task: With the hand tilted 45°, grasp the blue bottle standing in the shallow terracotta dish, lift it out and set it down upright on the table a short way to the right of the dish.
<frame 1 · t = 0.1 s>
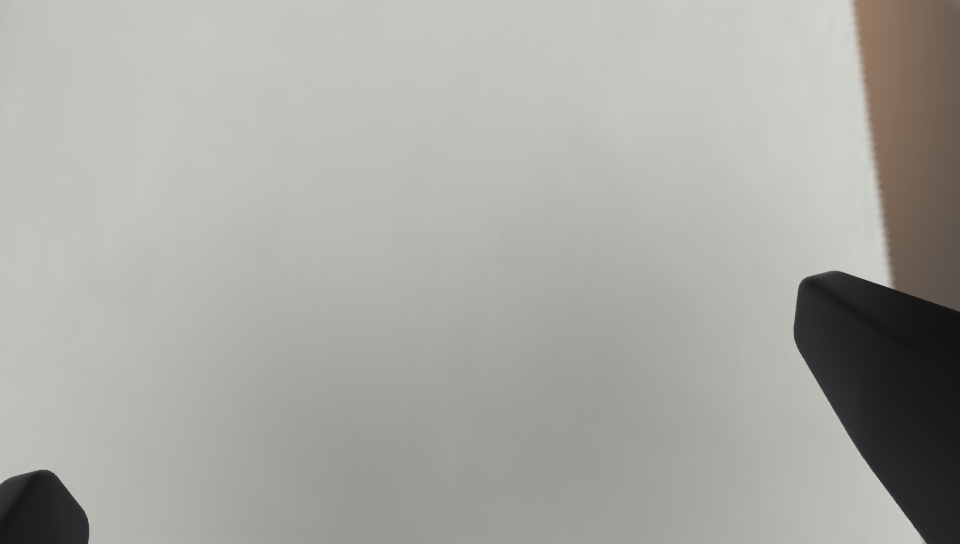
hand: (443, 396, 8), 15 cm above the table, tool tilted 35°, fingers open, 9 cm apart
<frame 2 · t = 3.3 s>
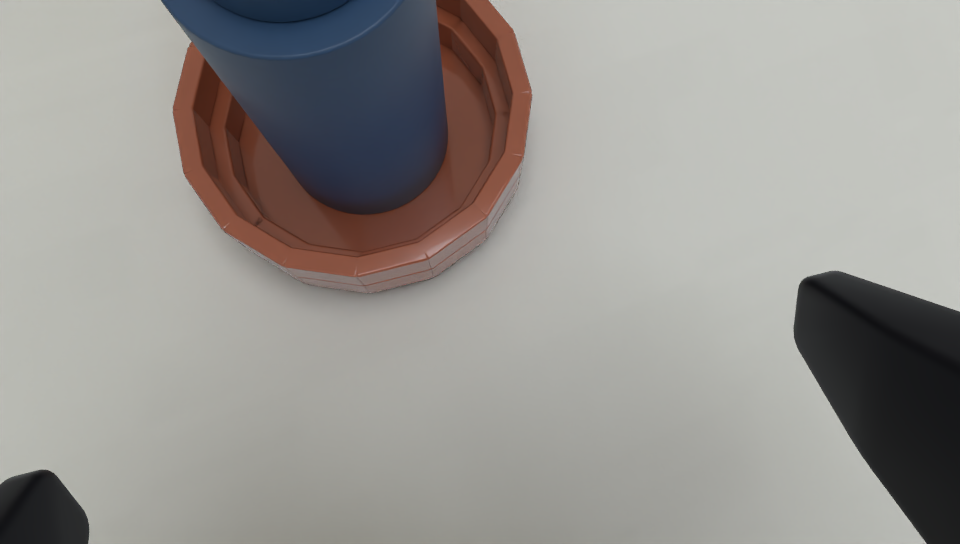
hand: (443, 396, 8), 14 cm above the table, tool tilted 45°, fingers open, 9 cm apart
blue bottle: (366, 137, 23), resting on dish
dish: (369, 142, 23), on the table
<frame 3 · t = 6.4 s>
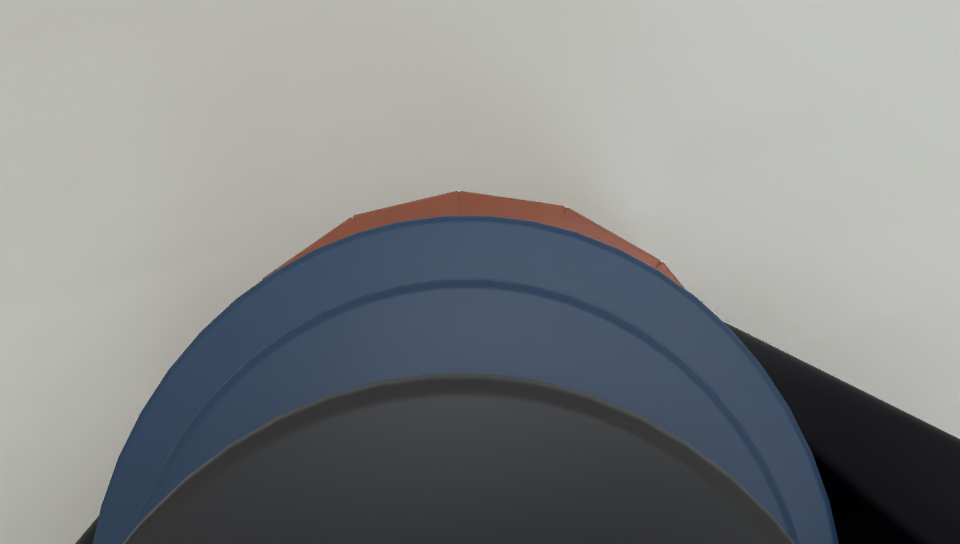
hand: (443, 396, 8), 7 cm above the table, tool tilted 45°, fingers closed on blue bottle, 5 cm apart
blue bottle: (471, 467, 15), point 1 cm above the table, touching dish, gripper
dish: (472, 465, 15), on the table
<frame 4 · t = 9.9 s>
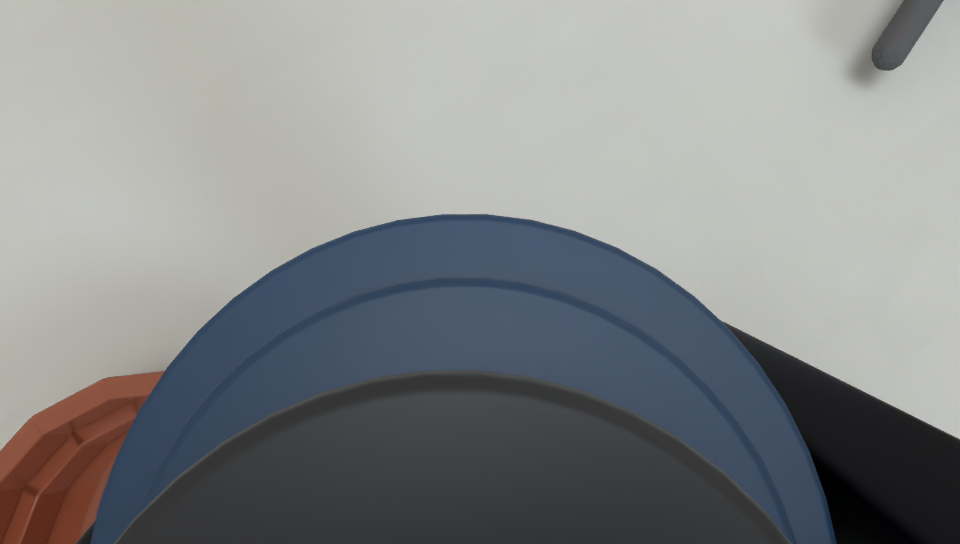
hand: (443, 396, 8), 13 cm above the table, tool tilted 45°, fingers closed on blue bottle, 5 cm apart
blue bottle: (470, 466, 15), point 6 cm above the table, touching gripper
when the fingers open (7 cm above the table, at t = 13.7 s): blue bottle stays where it is, on the table.
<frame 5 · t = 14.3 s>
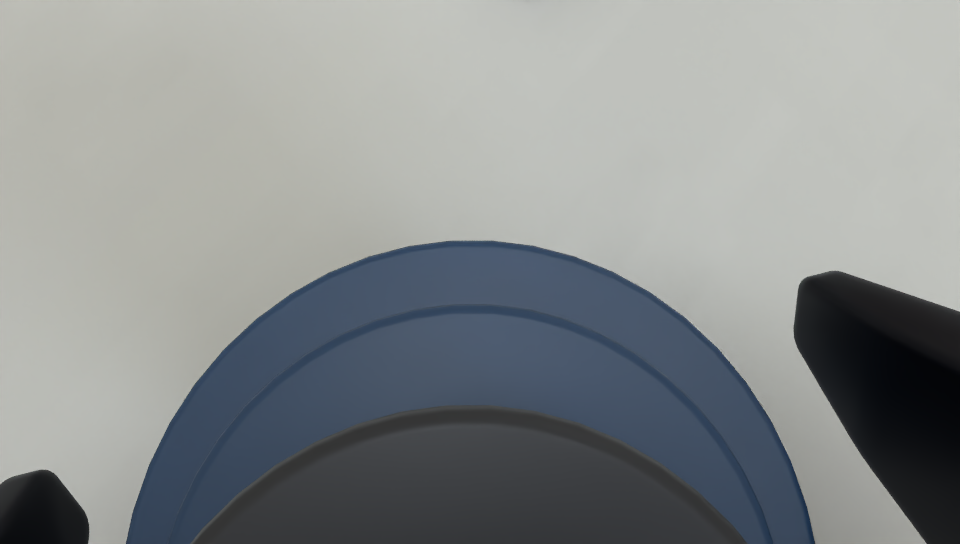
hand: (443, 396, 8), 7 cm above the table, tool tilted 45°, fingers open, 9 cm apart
blue bottle: (473, 470, 15), on the table
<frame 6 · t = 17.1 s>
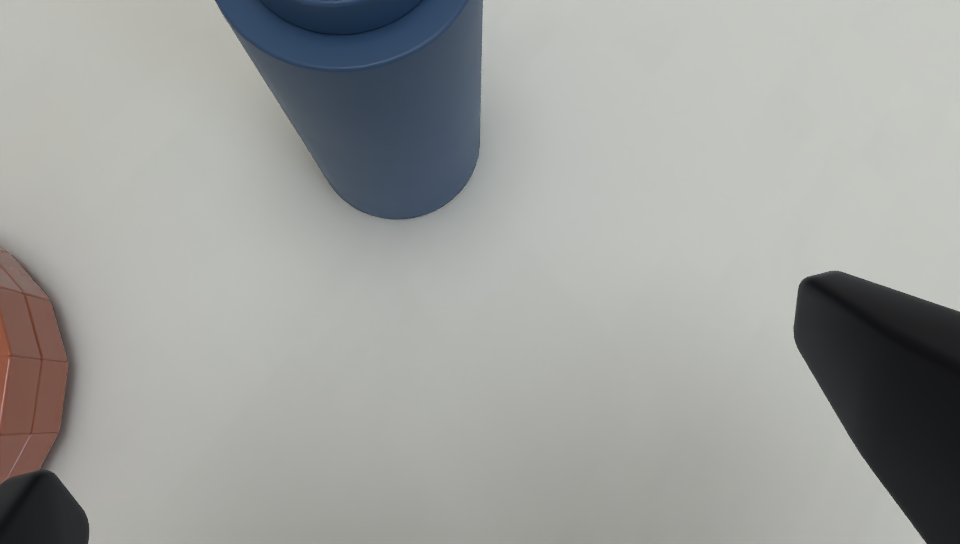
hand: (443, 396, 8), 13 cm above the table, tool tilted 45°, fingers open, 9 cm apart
blue bottle: (399, 142, 23), on the table
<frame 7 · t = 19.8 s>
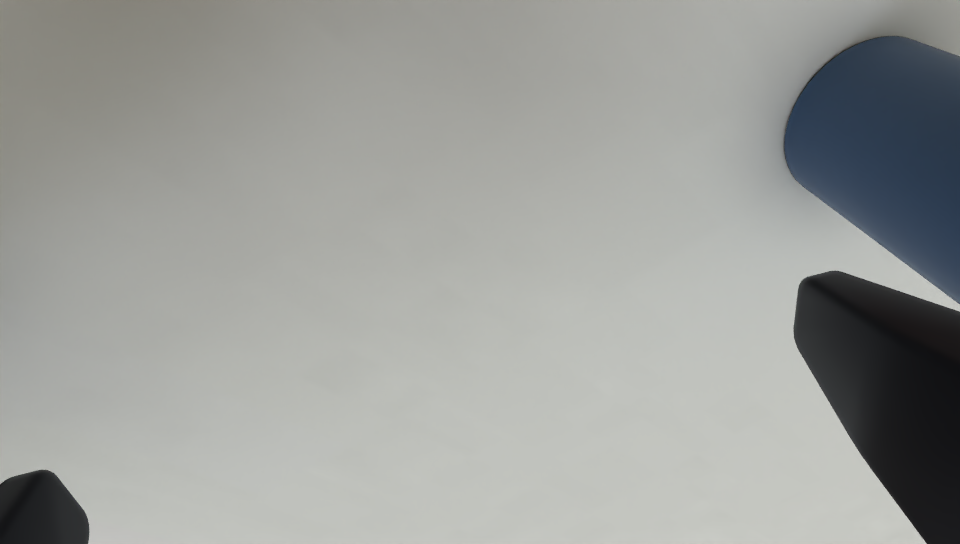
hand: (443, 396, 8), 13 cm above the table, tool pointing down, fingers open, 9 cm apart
blue bottle: (861, 120, 23), on the table
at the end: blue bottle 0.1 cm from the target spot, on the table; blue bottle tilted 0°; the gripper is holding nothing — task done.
